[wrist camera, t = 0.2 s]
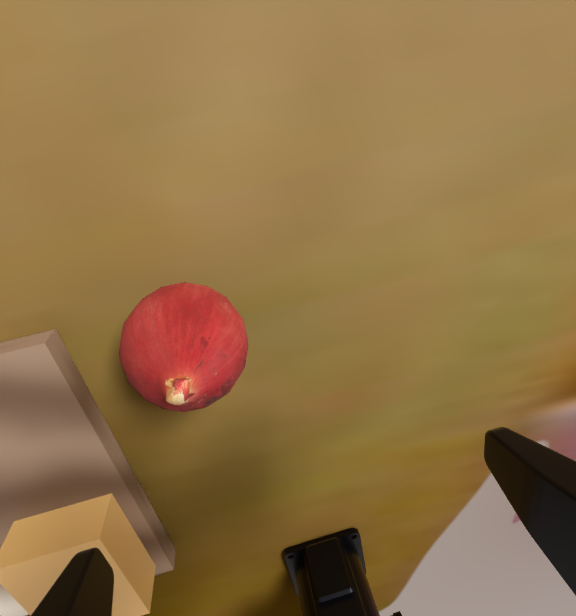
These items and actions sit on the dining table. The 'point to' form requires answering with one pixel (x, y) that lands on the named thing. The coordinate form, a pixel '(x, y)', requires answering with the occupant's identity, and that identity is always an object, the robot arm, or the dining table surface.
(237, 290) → the dining table surface
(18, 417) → the board
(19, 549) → the light orange rectangular block
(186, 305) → the onion
